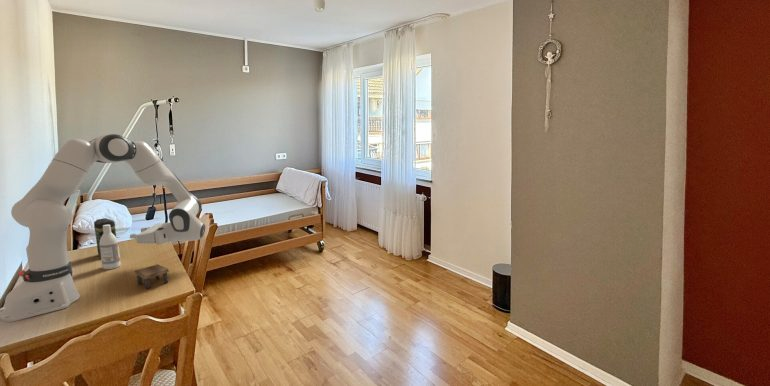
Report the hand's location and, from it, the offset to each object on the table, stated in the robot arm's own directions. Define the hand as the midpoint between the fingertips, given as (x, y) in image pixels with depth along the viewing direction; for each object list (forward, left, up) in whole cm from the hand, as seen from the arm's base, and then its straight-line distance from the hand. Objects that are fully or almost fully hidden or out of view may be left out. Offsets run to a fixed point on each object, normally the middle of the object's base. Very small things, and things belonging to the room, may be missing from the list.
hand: (136, 233), depth 177 cm
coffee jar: (-2, +29, -16) cm, 33 cm away
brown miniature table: (-6, -26, -16) cm, 31 cm away
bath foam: (-8, +9, -16) cm, 20 cm away
